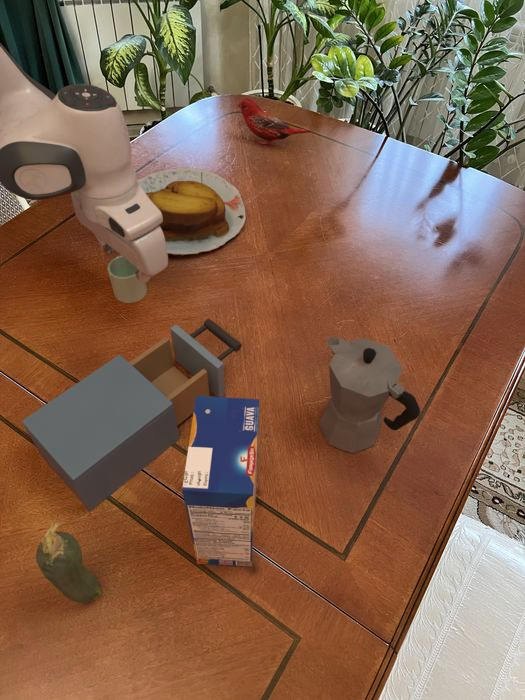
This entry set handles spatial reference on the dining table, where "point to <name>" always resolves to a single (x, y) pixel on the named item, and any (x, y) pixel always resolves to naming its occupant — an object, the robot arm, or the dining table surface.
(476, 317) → the dining table surface
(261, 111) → the decorative bird figurine
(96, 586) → the vegetable
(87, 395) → the cabinet
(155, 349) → the drawer
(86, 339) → the dining table surface
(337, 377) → the coffeepot
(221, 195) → the food on plate
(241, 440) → the beverage box
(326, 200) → the dining table surface
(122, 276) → the cup
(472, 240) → the dining table surface
